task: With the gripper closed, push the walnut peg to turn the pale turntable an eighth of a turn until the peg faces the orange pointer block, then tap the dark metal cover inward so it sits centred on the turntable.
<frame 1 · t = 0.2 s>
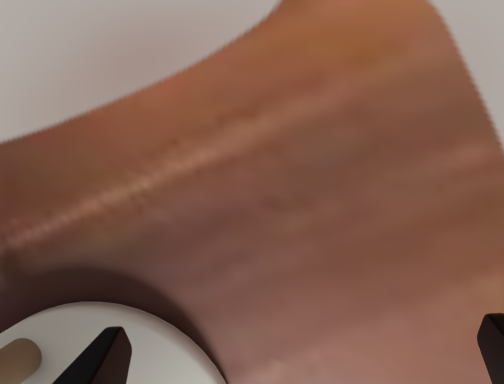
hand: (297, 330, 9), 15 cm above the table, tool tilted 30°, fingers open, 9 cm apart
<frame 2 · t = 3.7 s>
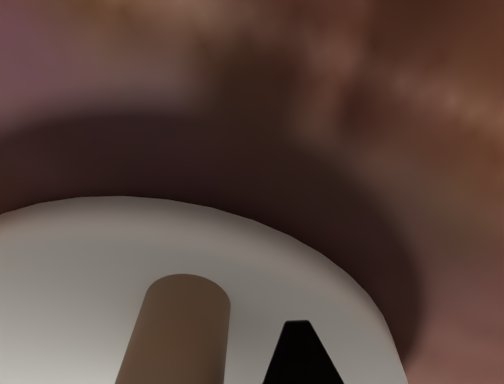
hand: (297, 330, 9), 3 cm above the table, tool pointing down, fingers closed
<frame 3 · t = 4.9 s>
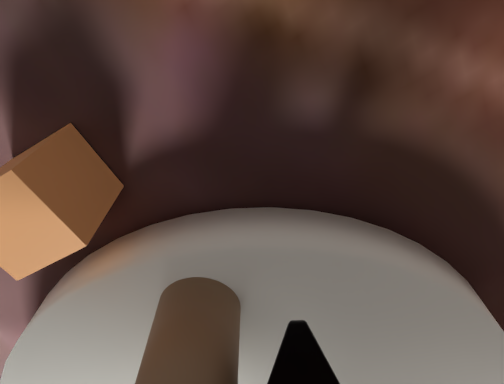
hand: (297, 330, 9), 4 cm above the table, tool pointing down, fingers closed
pointer block: (68, 172, 11), on the table
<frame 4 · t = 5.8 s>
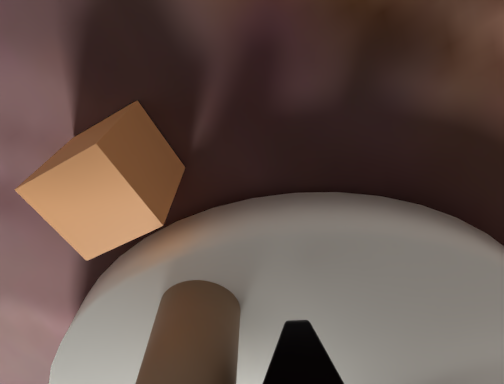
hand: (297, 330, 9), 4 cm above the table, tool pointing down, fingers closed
pointer block: (130, 153, 11), on the table
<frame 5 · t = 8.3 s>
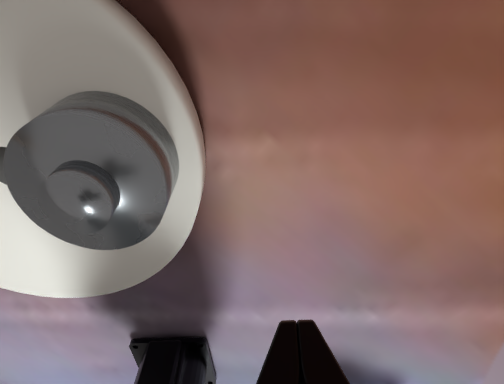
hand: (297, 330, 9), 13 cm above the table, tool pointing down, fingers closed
cover: (110, 158, 19), point 2 cm above the table, touching turntable
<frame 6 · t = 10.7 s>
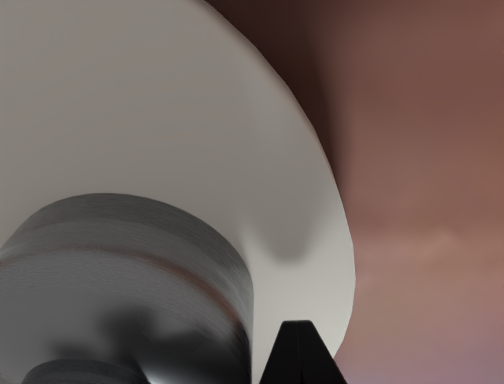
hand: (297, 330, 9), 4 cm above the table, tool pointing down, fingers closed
cover: (133, 294, 11), point 3 cm above the table, touching gripper
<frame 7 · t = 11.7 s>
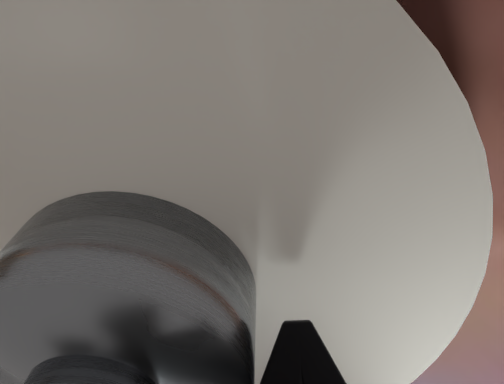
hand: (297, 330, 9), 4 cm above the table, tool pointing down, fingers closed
cover: (136, 292, 11), point 3 cm above the table, touching gripper, turntable
turntable: (121, 327, 10), point 3 cm above the table, hinge at 46.5°, touching cover
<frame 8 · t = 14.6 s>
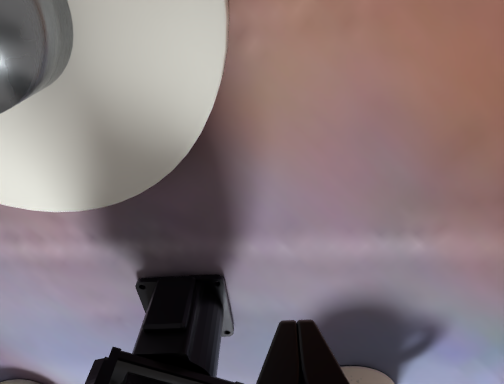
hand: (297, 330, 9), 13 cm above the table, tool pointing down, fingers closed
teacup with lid: (361, 383, 34), on the table
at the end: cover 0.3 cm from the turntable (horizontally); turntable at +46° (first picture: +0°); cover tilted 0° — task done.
